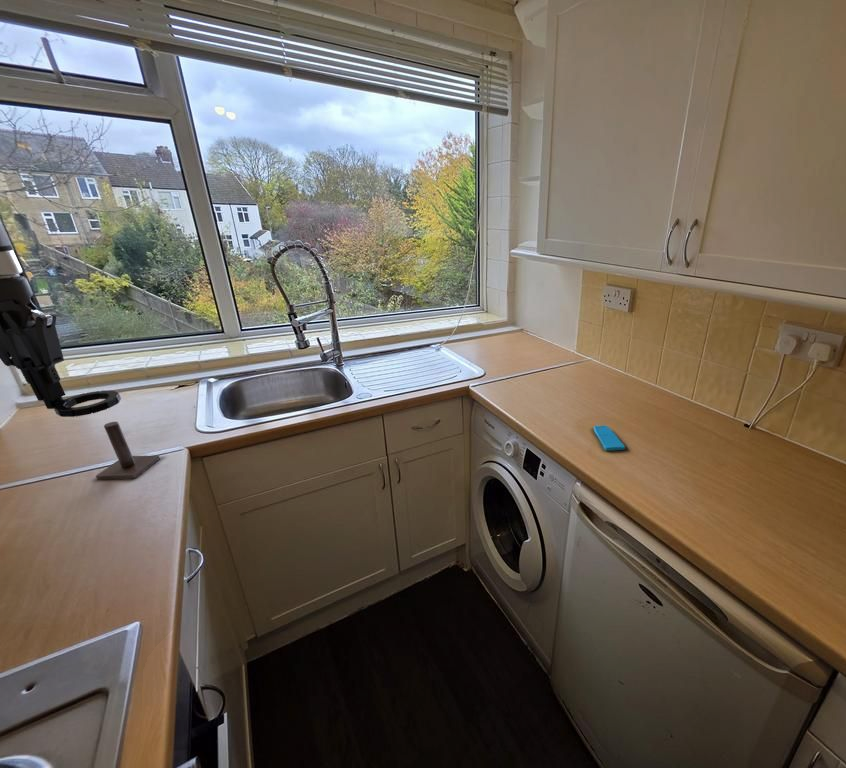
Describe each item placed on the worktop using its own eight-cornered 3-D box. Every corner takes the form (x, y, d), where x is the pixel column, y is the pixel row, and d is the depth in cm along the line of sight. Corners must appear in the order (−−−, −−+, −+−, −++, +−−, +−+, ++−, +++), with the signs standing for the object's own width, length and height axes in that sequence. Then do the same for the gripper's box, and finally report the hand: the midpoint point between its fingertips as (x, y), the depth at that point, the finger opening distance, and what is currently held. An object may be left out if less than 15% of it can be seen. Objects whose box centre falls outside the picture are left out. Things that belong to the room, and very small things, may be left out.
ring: (132, 396, 86) (114, 351, 82) (93, 416, 78) (71, 368, 74) (74, 396, 86) (54, 351, 82) (29, 417, 77) (3, 368, 73)
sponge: (612, 425, 118) (593, 423, 117) (627, 447, 107) (606, 446, 106) (611, 430, 118) (592, 428, 117) (625, 452, 107) (604, 451, 106)
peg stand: (97, 479, 91) (75, 433, 87) (125, 459, 99) (107, 415, 94) (134, 478, 92) (115, 432, 87) (160, 458, 99) (143, 415, 95)
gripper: (56, 273, 75) (105, 389, 84) (-25, 273, 74) (34, 390, 84) (12, 280, 68) (71, 406, 77) (-78, 280, 67) (-7, 406, 77)
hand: (52, 397), depth 81 cm, fingers closed on ring
